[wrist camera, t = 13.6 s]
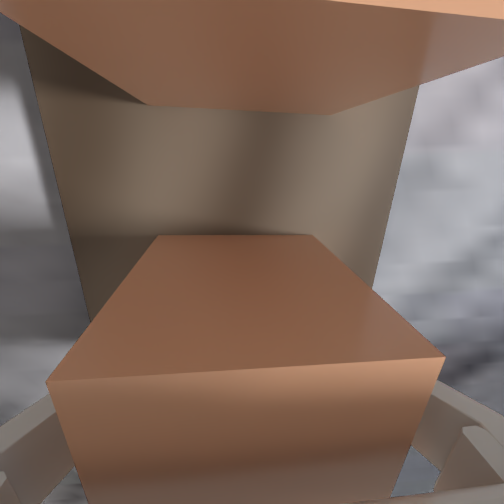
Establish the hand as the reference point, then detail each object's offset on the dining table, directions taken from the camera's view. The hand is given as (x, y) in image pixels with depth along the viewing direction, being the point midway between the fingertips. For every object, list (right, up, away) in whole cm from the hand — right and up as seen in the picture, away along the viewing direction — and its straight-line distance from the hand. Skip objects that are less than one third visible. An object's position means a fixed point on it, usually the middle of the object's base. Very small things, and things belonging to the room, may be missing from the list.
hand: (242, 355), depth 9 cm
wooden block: (0, +1, +3) cm, 3 cm away
